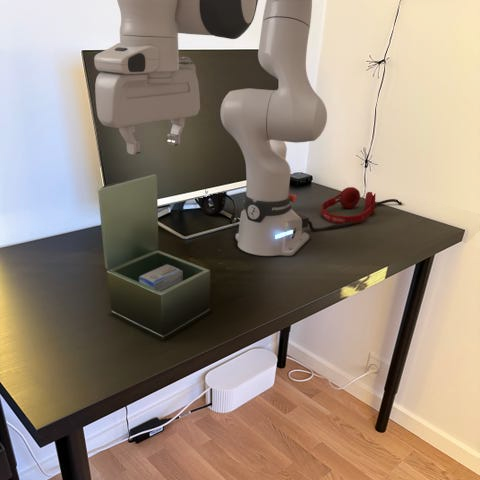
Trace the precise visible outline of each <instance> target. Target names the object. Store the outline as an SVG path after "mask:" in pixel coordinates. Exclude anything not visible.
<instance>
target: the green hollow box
mask: <svg viewBox="0 0 480 480" xmlns="http://www.w3.org/2000/svg"><path fill="white" fill-rule="evenodd" d="M166 264H168V265H171V266H173V267H176V268H178V269H180V270H182V280H183V281H182V282H180V283H178V284H176V285H174V286H172V287H170V288H168V289H166V290H164V291H162V292H160V291H158V290H155V289H153V288H151V287H149V286H146V285H144V284H142V283H139V277H140V276H142V275H144V274H146V273H148V272H150V271H153V270H155V269H157V268H159V267H162V266H164V265H166ZM106 277H107V286H108V293H109V295H108V296H109V303H110V311H111V316H114V317H115V318H118V319H120V320H122V321H123V322H126V323H127V324H130V325H132V326H133V327H136V328H137V329H140V330H142V331H143V332H146V333H147V334H149V335H151V336H153V337H155V338H158V339H160V340H161V341H165V340H167V339H169V338H170V337H172V336H173V335H175V334H177V333H179V332H181V331H182V330H183V329H185V328H187V327H189V326H190V325H192V324H193V323H195V322H197V321H199V320H200V319H202V318H203V317H205V316H207V315H208V314H210V313H211V270H210V269H208V268H205V267H203V266H201V265H197V264H195V263H192V262H189V261H187V260H185V259H182V258H179V257H176V256H174V255H171V254H169V253H166V252H163V251H160V250H159V249H156V250H154V251H151V252H149V253H146V254H144V255H142V256H139V257H137V258H134V259H132V260H129V261H127V262H125V263H122V264H120V265H117V266H115V267H112V268H110V269H107V271H106Z"/></svg>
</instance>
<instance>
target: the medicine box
mask: <svg viewBox="0 0 480 480" xmlns="http://www.w3.org/2000/svg"><path fill="white" fill-rule="evenodd" d="M182 281H183V280H182V270H180V269H178V268H176V267H173V266H171V265H168V264H166V265H164V266H162V267H159V268H157V269H155V270H153V271H150V272H148V273H146V274H144V275H142V276H140V277H139V283H142V284H144V285H146V286H149V287H151V288H153V289H155V290H158V291H160V292H162V291H164V290H166V289H168V288H170V287H172V286H174V285H176V284H178V283H180V282H182Z"/></svg>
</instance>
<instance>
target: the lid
mask: <svg viewBox="0 0 480 480" xmlns="http://www.w3.org/2000/svg"><path fill="white" fill-rule="evenodd" d="M97 195H98V203H99V204H98V206H99V217H100V227H101V228H100V229H101V237H102V238H101V239H102V249H103V259H104V261H103V262H104V268H105V269H106V270H111V269H113V268H116V267H118V266H120V265H123V264H125V263H128V262H130V261H132V260H135V259H137V258H140V257H142V256H145V255H147V254H149V253H152V252H154V251H157V250H159V246H160V245H159V207H158V204H159V203H158V174H149V175H146V176H142V177H138V178H134V179H131V180H127V181H126V180H123V181H118V182H115V183H110V184H107V185H103V186H102V187H101V188H98V189H97Z"/></svg>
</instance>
